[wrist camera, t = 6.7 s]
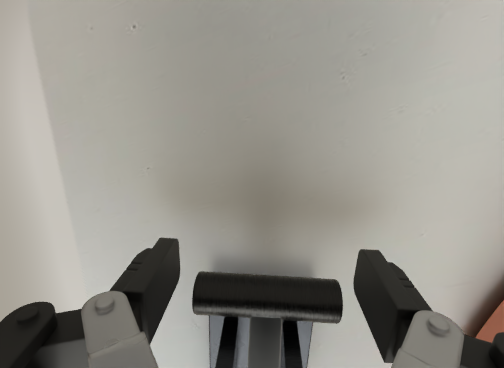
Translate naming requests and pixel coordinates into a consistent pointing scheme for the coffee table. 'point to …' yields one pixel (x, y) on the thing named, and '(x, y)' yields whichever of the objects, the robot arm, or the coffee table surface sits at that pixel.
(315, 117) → the coffee table surface
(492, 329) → the teapot
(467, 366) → the robot arm
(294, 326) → the bracket
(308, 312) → the lever
